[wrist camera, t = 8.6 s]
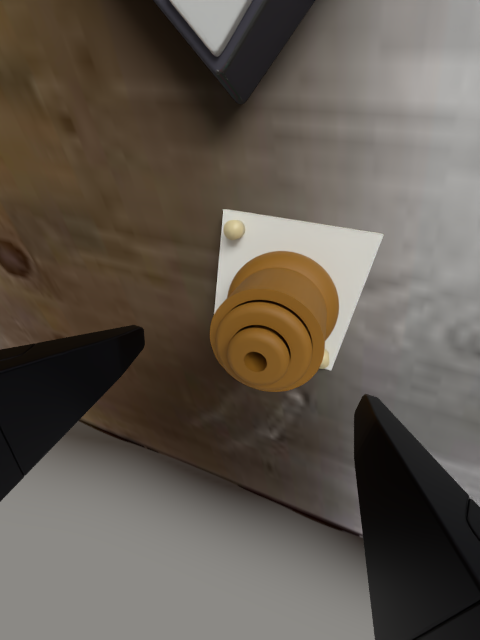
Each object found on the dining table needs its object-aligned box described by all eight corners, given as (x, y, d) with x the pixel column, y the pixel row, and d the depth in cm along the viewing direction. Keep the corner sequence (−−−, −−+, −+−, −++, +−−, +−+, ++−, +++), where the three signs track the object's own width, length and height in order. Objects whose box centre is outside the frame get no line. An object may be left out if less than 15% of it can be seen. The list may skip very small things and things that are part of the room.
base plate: (379, 233, 14) (387, 236, 13) (330, 363, 19) (331, 378, 17) (228, 209, 17) (217, 209, 15) (216, 330, 21) (207, 341, 19)
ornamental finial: (215, 297, 19) (284, 223, 15) (280, 363, 19) (362, 306, 16) (152, 347, 12) (252, 231, 8) (257, 447, 12) (395, 381, 9)
